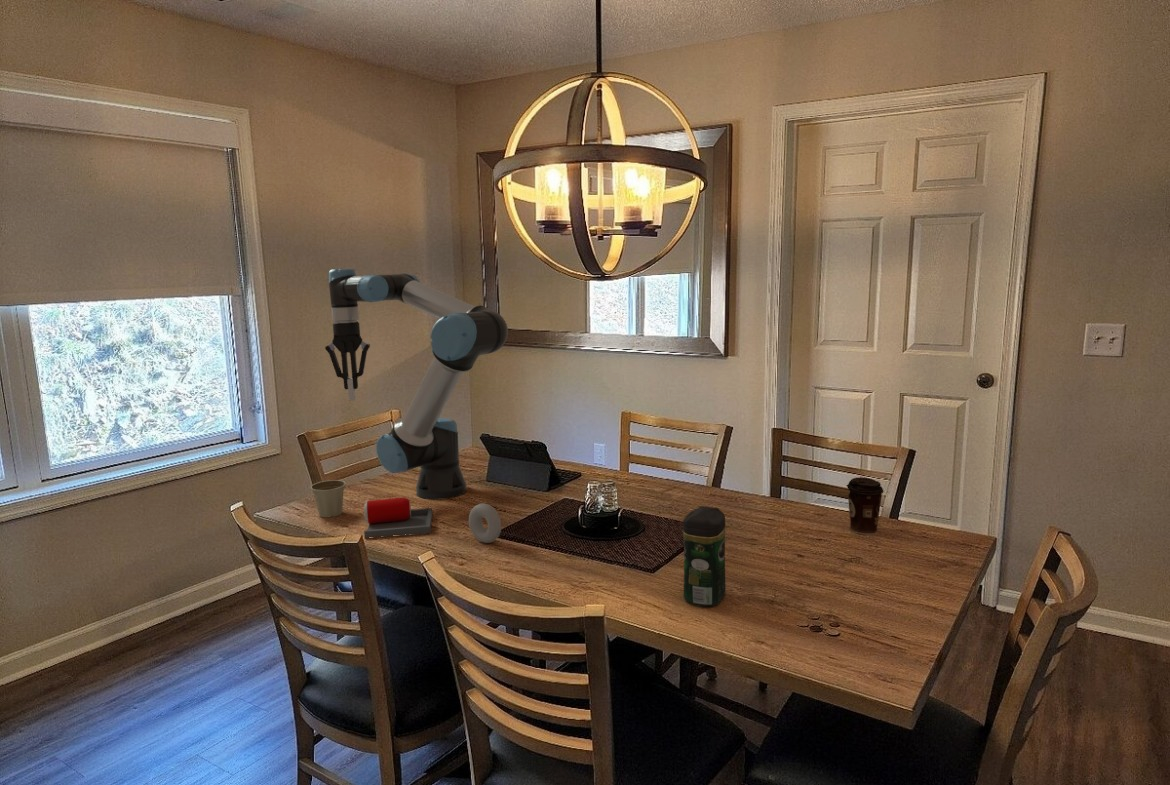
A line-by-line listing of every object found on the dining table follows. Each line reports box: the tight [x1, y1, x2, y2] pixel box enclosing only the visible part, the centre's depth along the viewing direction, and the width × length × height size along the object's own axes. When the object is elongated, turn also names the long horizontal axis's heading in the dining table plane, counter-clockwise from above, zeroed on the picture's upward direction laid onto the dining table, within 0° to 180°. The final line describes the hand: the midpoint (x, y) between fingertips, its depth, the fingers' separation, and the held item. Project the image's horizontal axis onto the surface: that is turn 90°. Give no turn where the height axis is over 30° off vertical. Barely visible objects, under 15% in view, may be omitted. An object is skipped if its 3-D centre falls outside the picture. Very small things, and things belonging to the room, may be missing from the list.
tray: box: [363, 507, 433, 540], centre depth 194 cm, size 16×15×2 cm
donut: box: [468, 503, 502, 544], centre depth 180 cm, size 10×4×10 cm, turn 54°
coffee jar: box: [682, 505, 727, 607], centre depth 147 cm, size 10×8×19 cm
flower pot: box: [309, 479, 347, 519], centre depth 204 cm, size 9×9×9 cm
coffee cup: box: [846, 477, 884, 536], centre depth 182 cm, size 9×8×13 cm
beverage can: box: [363, 497, 412, 525], centre depth 196 cm, size 6×6×12 cm
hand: (352, 399), depth 219 cm, fingers closed
